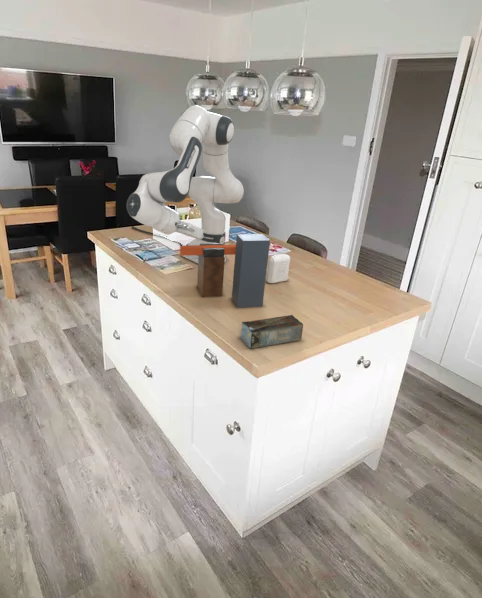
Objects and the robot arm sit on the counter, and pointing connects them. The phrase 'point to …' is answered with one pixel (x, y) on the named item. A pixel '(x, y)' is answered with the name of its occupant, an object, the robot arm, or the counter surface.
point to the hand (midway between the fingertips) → (193, 233)
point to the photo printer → (278, 268)
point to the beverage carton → (271, 331)
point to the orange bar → (199, 248)
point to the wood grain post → (211, 271)
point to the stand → (250, 270)
